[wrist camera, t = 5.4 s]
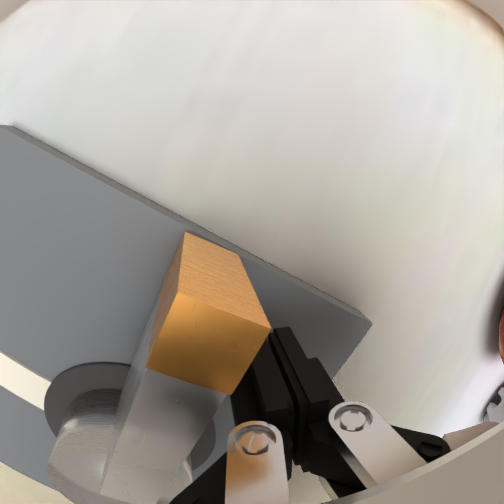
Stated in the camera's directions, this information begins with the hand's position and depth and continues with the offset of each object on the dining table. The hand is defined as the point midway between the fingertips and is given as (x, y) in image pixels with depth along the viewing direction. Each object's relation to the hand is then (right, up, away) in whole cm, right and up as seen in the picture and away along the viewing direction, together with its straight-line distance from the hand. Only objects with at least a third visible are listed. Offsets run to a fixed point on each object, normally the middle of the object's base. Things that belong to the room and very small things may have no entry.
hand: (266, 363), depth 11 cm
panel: (-8, -3, +2) cm, 9 cm away
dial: (-5, -1, 0) cm, 5 cm away
